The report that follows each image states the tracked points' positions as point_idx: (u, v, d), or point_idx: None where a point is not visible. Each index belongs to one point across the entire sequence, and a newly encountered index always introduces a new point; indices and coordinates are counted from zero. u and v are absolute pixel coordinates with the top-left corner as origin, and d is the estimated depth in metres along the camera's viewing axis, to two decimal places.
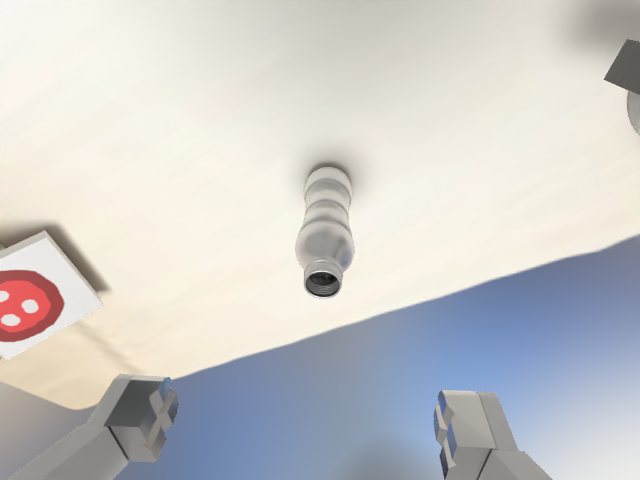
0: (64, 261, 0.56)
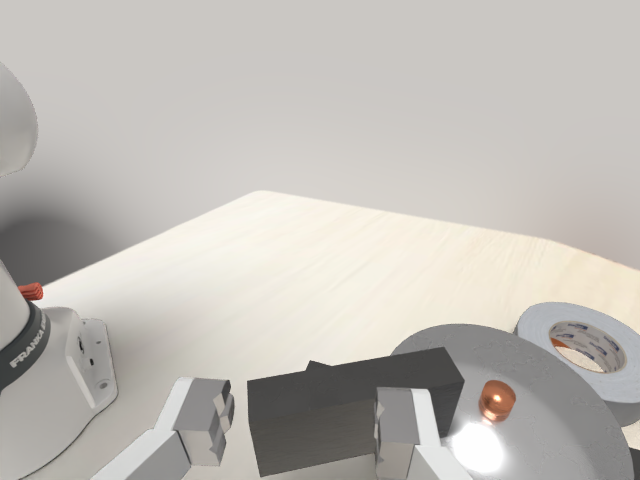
0: None
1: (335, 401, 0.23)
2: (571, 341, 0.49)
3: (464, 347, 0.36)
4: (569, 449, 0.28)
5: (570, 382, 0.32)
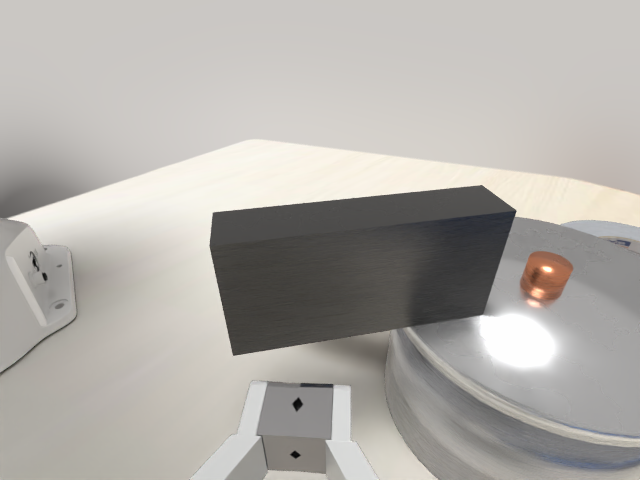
0: None
1: (336, 228, 0.16)
2: None
3: None
4: None
5: (634, 264, 0.25)
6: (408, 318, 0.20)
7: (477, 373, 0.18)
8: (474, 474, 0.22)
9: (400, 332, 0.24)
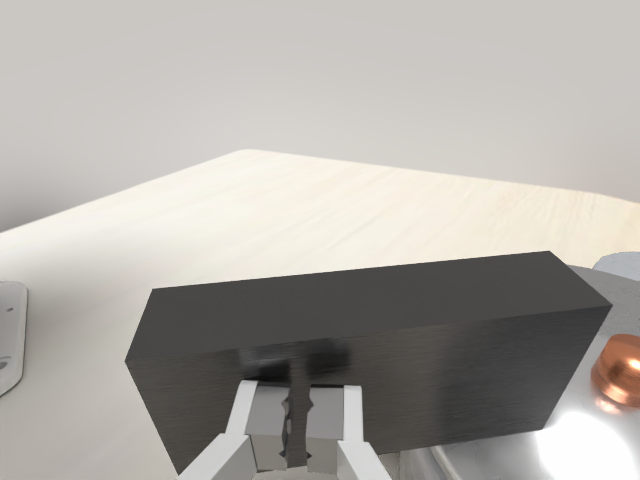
0: None
1: (327, 330, 0.11)
2: None
3: None
4: None
5: None
6: (435, 436, 0.14)
7: None
8: None
9: None
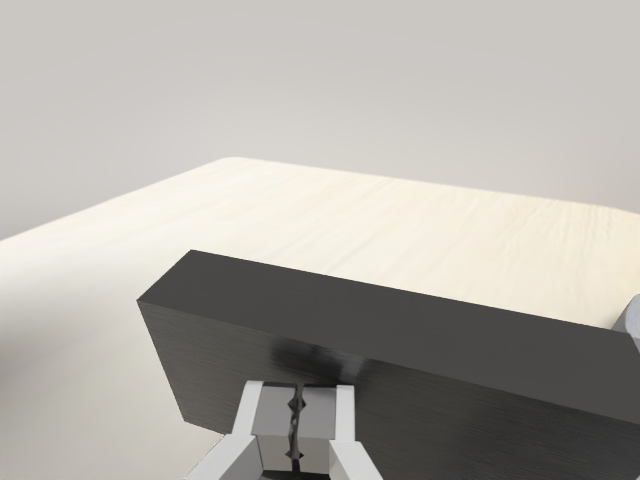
0: None
1: (300, 332, 0.10)
2: None
3: None
4: None
5: None
6: None
7: None
8: None
9: None
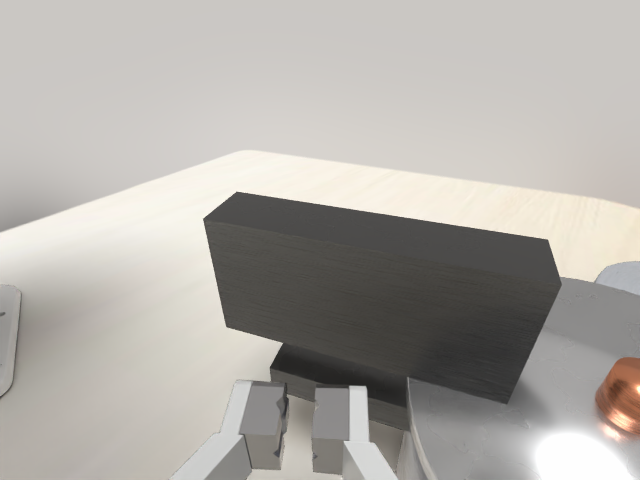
0: None
1: (320, 236, 0.15)
2: None
3: (609, 316, 0.21)
4: None
5: None
6: (402, 365, 0.17)
7: (443, 466, 0.14)
8: None
9: (422, 467, 0.17)
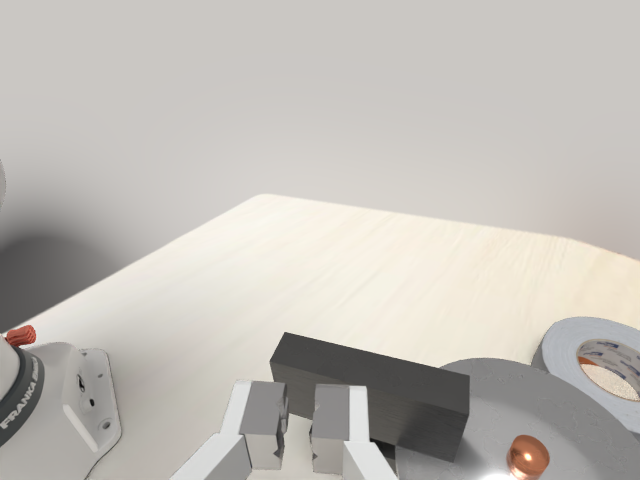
0: None
1: (339, 376, 0.27)
2: (600, 359, 0.46)
3: (527, 393, 0.32)
4: None
5: None
6: (391, 439, 0.29)
7: None
8: None
9: None
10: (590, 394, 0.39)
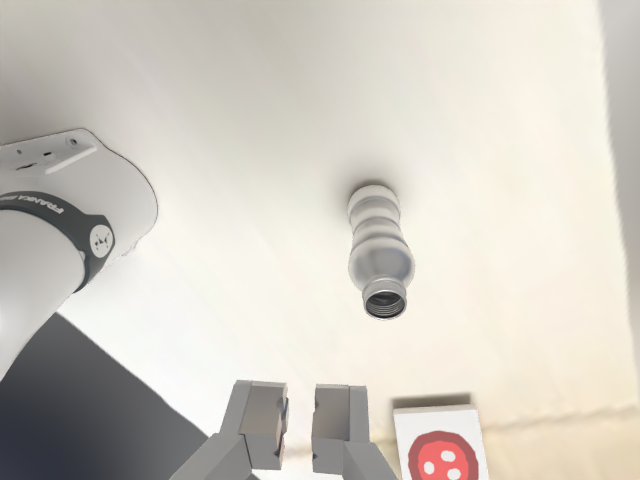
0: (418, 413, 0.67)
1: None
2: None
3: None
4: None
5: None
6: None
7: None
8: None
9: None
10: None
